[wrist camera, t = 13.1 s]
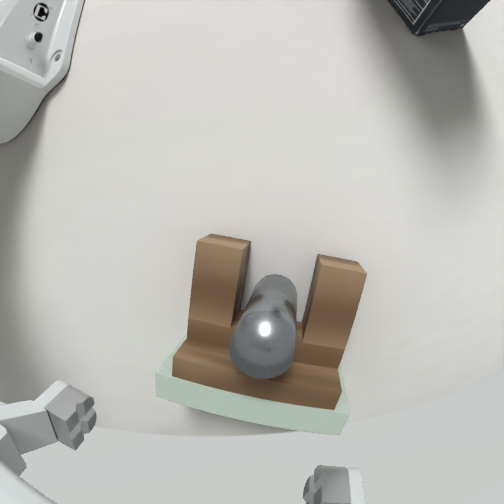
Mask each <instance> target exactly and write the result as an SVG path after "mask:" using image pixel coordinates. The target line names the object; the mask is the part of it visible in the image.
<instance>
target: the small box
mask: <svg viewBox="0 0 504 504" xmlns="http://www.w3.org/2000/svg"><path fill="white" fill-rule="evenodd" d="M388 1H389V2H390V3H391V5H392V6H393V7H394V8H395V10H396V11H397V12H398V14H399V15H400V16H401V18H402V19H403V20H404V22H405V23H406V24H407V26H408V27H409V28H410V30H411V31H412V33H413V34H414V35H423V34H425V33H431V32H438V31H445V30H455V29H458V28H463V27H464V26H465V25H466V24H467V23H468V22H469V21H470V20H471V19H472V18H473V17H474V16H475V15H476V14H477V13H478V12H479V11H480V10H481V9H482V8H483V7H484V6H485V5H486V4H487V3H488V2H489V1H490V0H388Z"/></svg>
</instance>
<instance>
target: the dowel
mask: <svg viewBox="0 0 504 504" xmlns="http://www.w3.org/2000/svg"><path fill="white" fill-rule="evenodd" d="M296 307H297V292H296V288H295V286H294V284H293V283H292V282H291V281H290V280H289V279H288V278H286V277H284V276H282V275H276V274H274V275H268V276H266V277H264V278H262V279H261V280H260V281H259V282H258V283H257V285H256V287H255V289H254V291H253V293H252V295H251V297H250V299H249V302H248V304H247V306H246V308H245V310H244V312H243V314H242V317H241V319H240V321H239V323H238V325H237V327H236V329H235V331H234V334H233V336H232V338H231V340H230V343H229V354H230V358H231V360H232V362H233V363H234V365H235V366H236V367H237V368H238V369H239V370H240V371H241V372H243V373H244V374H246V375H248V376H251V377H254V378H259V379H269V378H274V377H277V376H279V375H281V374H283V373H284V372H285V371H287V370H288V368H289V367H290V366H291V364H292V362H293V360H294V356H295V337H296Z"/></svg>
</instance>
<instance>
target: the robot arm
mask: <svg viewBox="0 0 504 504" xmlns="http://www.w3.org/2000/svg"><path fill="white" fill-rule="evenodd" d="M83 3H84V0H0V144H2V143H6V142H8V141H10V140H12V139H13V138H14V137H16V136H17V135H18V134H19V133H20V132H21V131H22V130H23V128H24V127H25V126H26V125H27V123H28V122H29V121H30V119H31V118H32V116H33V115H34V113H35V112H36V110H37V108H38V106H39V105H40V103H41V101H42V100H43V98H44V97H45V96H46V94H47V93H48V92H49V91H50V90H51V89H52V88H53V87H54V86H55V85H57V84H58V83H59V82H60V81H61V79H62V78H63V77H64V76H65V75H66V73H67V71H68V69H69V65H70V60H71V54H72V49H73V44H74V39H75V34H76V30H77V26H78V22H79V18H80V14H81V10H82V6H83ZM93 405H94V400H93V398H92V397H91V396H89V395H87V394H85V393H83V392H81V391H80V390H78V389H76V388H74V387H73V386H71V385H69V384H68V383H66V382H64V381H62V380H61V379H60V380H57V381H55V382H54V383H53V384H52V385H51V386H50V387H49V388H48V389H47V390H46V391H45V392H43V393H42V394H41V395H40V396H39V397H38V398H37V399H36V400H35V401H32V400H27V401H22V402H16V403H11V404H5V405H0V504H57V503H55V502H54V501H52V500H50V499H49V498H48V497H46V496H45V495H44V494H42V493H41V492H39V491H38V490H37V489H35V488H34V487H32V486H31V485H30V484H28V483H27V482H26V481H25V480H23V479H22V478H21V477H20V475H21V473H22V472H23V471H24V470H25V468H26V463H25V462H24V460H23V458H22V457H21V454H24V453H27V452H30V451H33V450H35V449H38V448H41V447H44V446H46V445H49V444H52V443H55V442H57V440H58V441H60V442H62V443H63V444H65V445H67V446H68V447H70V448H72V449H74V450H76V449H77V448H78V447H79V445H80V444H81V443H82V442H83V440H84V434H86V433H89V432H90V431H91V430H92V428H93V427H94V425H95V422H96V411H95V410H94V409H93V407H92V406H93ZM303 498H304V500H305V501H306V502H307V503H306V504H365V496H364V488H363V481H362V474H361V470H360V469H359V468H345V467H335V466H322V465H319V466H317V467H316V469H315V470H314V475H312V476H310V477H309V478H308V480H307V482H306V484H305V487H304V493H303Z"/></svg>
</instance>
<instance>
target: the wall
mask: <svg viewBox="0 0 504 504" xmlns="http://www.w3.org/2000/svg"><path fill="white" fill-rule="evenodd" d="M186 338H187V334H186V335H185V336H184V338H183V339H182V340H181V341H180V343H179V344H178V345H177V347H176V348H175V349H174V350H173V352H172V353H171V354H170V356H169V357H168V358H167V359H166V361H165V362H164V363H163V364H162V366H161V367H160V368H159V370H158V371H157V372H156V397H159V398H162V399H165V400H168V401H171V402H175V403H178V404H181V405H184V406H188V407H191V408H195V409H198V410H202V411H205V412H209V413H213V414H217V415H221V416H225V417H229V418H233V419H238V420H242V421H247V422H251V423H256V424H261V425H267V426H272V427H278V428H284V429H291V430H297V431H305V432H312V433H322V434H331V435H340V433H341V431H342V429H343V427H344V425H345V423H346V421H347V419H348V417H349V415H350V410H349V405H348V400H347V394H346V389H345V384H344V379H343V374H342V369H341V365H340V364H339V367H338V372H339V377H340V383H341V388H342V393H341V396H340V398H339V400H338V403H337V405H336V407H335V410H329V409H321V408H313V407H306V406H299V405H293V404H287V403H281V402H276V401H270V400H265V399H260V398H255V397H250V396H246V395H241V394H237V393H232V392H228V391H224V390H220V389H216V388H212V387H208V386H204V385H201V384H197V383H194V382H190V381H187V380H183V379H180V378H176V377H173V376H172V362H173V355H174V354H175V353H176V352H177V350H178V349H179V348H180V346H181V345H182V344H183V342H184V341H185V340H186Z"/></svg>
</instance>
